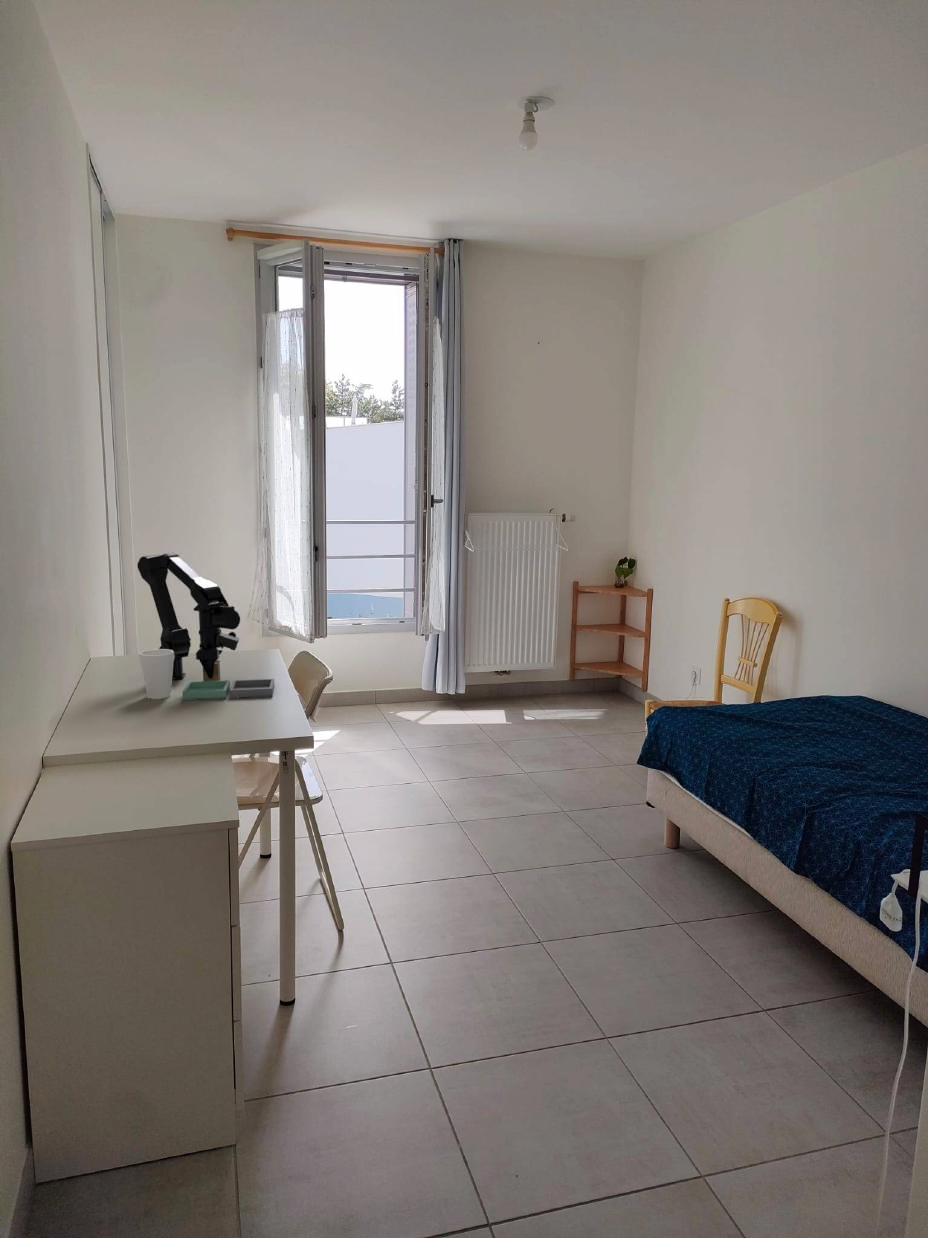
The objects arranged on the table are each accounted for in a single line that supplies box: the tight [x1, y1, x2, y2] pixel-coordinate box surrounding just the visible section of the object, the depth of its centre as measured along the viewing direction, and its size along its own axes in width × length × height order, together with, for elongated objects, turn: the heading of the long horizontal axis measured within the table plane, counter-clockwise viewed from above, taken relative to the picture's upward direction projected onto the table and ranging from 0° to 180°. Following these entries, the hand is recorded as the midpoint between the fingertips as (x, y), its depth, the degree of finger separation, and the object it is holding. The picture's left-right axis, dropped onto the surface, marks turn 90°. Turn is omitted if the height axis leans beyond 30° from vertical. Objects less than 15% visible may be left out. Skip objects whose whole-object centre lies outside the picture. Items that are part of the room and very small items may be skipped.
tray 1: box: [182, 680, 231, 701], centre depth 257 cm, size 12×12×2 cm
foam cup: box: [138, 648, 174, 700], centre depth 254 cm, size 10×9×13 cm
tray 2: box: [229, 678, 275, 699], centre depth 259 cm, size 12×12×2 cm
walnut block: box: [202, 659, 221, 681], centre depth 268 cm, size 4×4×6 cm
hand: (211, 676), depth 268 cm, fingers closed on walnut block, 4 cm apart
